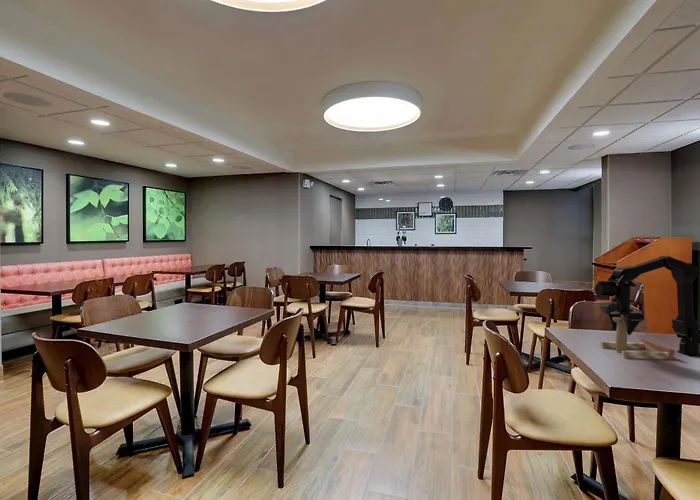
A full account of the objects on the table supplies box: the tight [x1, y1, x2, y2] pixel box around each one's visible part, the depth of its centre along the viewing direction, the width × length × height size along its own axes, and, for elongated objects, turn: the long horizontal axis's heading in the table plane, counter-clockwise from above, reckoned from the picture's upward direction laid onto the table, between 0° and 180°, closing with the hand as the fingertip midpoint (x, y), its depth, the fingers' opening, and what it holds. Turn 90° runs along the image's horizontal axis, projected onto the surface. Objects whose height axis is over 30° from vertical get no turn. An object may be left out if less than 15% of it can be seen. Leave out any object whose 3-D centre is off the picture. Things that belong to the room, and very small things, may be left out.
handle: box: [613, 316, 628, 354], centre depth 159 cm, size 5×6×15 cm
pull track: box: [599, 338, 676, 360], centre depth 159 cm, size 20×16×4 cm
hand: (621, 332), depth 159 cm, fingers open, 9 cm apart
